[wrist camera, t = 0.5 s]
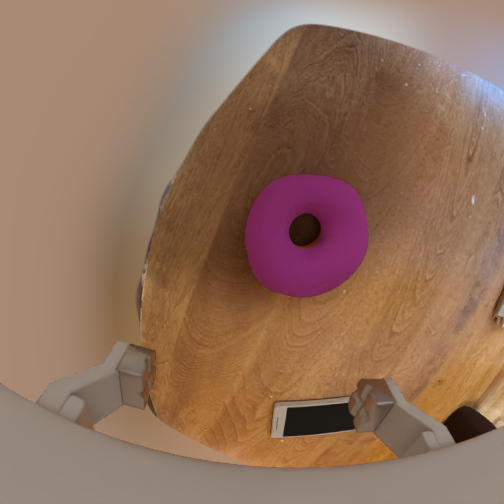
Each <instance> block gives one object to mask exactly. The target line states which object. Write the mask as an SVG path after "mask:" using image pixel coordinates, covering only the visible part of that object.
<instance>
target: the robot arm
mask: <svg viewBox="0 0 504 504" xmlns="http://www.w3.org/2000/svg"><path fill="white" fill-rule="evenodd" d="M155 360H156V351H155V350H152V349H148V348H144V347H141V346H137V345H134V344H130V343H127V342H123V341H120V340H119V341H117V342H116V343H115V345H114V347H113V348H112V349H111V351H110V352H109V354H108V356H107V357H106V359H105V360H104V362H103V363H102V365H100V364H97V365H94V366H92V367H90V368H87V369H85V370H83V371H80V372H77V373H75V374H72V375H70V376H67V377H64V378H62V379H59V380H57V381H54V382H51V383H50V384H49V385H48V386H47V388H46V389H45V390H44V392H43V393H42V395H41V396H40V398H39V399H38V400H37V402H36V403H33V402H32V401H30V400H28V399H26V398H24V397H23V396H21V395H19V394H17V393H16V392H14V391H12V390H11V389H9V388H8V387H6V386H4V385H3V384H1V383H0V504H504V426H502V427H499V428H497V429H495V430H492V431H490V432H487V433H485V434H482V435H480V436H477V437H474V438H472V439H469V440H466V441H463V442H460V443H457V444H456V443H455V441H454V440H453V438H452V436H451V434H450V433H449V431H448V429H447V427H446V426H444V425H443V424H441V423H440V422H438V421H437V420H435V419H434V418H432V417H431V416H429V415H428V414H426V413H425V412H423V411H422V410H420V409H419V408H417V407H416V406H414V405H413V404H411V403H410V402H408V403H407V402H406V400H405V398H404V396H403V395H402V393H401V391H400V389H399V388H398V386H397V384H396V382H395V381H394V379H392V378H382V379H361V380H360V381H359V382H358V384H357V390H356V391H354V392H353V393H352V394H351V396H350V398H349V403H348V407H349V412H350V414H351V415H353V416H354V417H355V418H354V420H353V423H354V426H355V429H356V432H357V433H360V432H374V434H375V435H376V436H377V437H378V438H379V439H380V440H381V441H382V442H383V443H384V444H385V445H386V446H387V447H388V448H389V449H390V450H391V451H392V452H393V453H395V454H396V455H397V456H398V457H399V458H397V459H392V460H386V461H379V462H373V463H365V464H357V465H347V466H334V467H314V468H280V467H260V466H246V465H237V464H227V463H220V462H213V461H206V460H201V459H195V458H189V457H184V456H180V455H175V454H170V453H166V452H162V451H158V450H154V449H150V448H146V447H143V446H139V445H136V444H132V443H129V442H126V441H122V440H120V439H117V438H114V437H111V436H108V435H105V434H102V433H99V432H97V431H95V430H94V428H93V425H94V424H96V423H97V422H99V421H100V420H102V419H103V418H105V417H106V416H108V415H109V414H111V413H112V412H114V411H115V410H117V409H118V408H120V407H121V406H123V404H124V405H128V406H131V407H136V408H139V409H143V410H144V409H145V407H146V404H147V401H148V399H149V391H150V390H152V388H153V385H154V381H155V376H156V367H155V365H154V363H155Z"/></svg>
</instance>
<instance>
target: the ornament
mask: <svg viewBox="0 0 504 504" xmlns="http://www.w3.org/2000/svg"><path fill="white" fill-rule="evenodd" d="M493 425H494V426H495V427H496V428H499V427H502V426H504V421H497V422H495V423H494V424H493Z"/></svg>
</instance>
